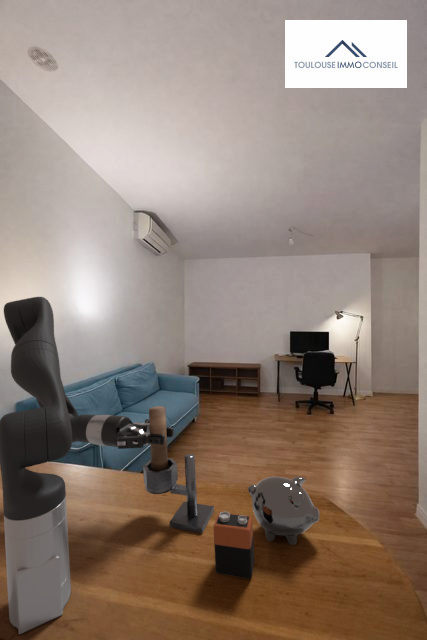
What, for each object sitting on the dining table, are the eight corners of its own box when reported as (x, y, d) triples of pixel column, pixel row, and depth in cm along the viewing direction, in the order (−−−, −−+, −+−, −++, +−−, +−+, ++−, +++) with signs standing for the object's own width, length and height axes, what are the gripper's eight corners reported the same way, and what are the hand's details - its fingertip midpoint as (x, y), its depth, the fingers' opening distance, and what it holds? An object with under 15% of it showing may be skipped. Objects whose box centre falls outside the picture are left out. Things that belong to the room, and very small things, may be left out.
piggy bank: (320, 560, 59) (317, 501, 59) (244, 544, 64) (241, 489, 64) (320, 522, 69) (318, 472, 69) (255, 511, 74) (253, 464, 74)
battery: (220, 556, 61) (218, 506, 61) (254, 561, 59) (252, 510, 59) (215, 574, 57) (212, 521, 57) (251, 581, 55) (249, 525, 55)
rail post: (170, 474, 75) (167, 409, 74) (154, 479, 73) (151, 412, 72) (164, 467, 78) (162, 405, 78) (149, 472, 76) (146, 408, 76)
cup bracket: (140, 521, 73) (136, 458, 73) (156, 501, 80) (153, 444, 80) (202, 533, 68) (199, 465, 68) (213, 511, 75) (210, 450, 75)
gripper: (89, 425, 73) (153, 431, 67) (124, 407, 86) (180, 411, 81) (91, 457, 73) (155, 465, 68) (126, 434, 86) (181, 439, 81)
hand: (168, 436), depth 74 cm, fingers closed on rail post, 4 cm apart
